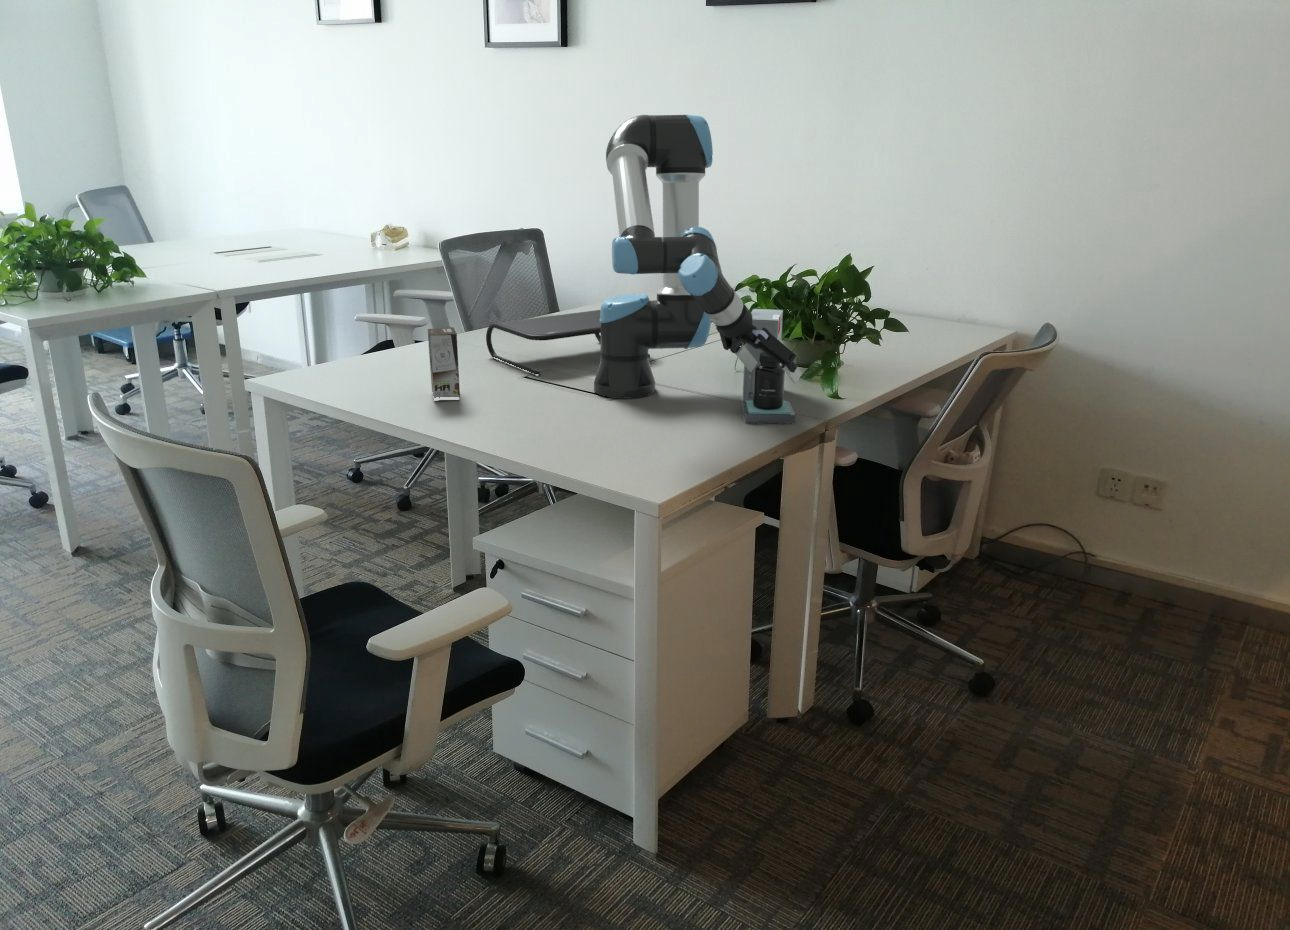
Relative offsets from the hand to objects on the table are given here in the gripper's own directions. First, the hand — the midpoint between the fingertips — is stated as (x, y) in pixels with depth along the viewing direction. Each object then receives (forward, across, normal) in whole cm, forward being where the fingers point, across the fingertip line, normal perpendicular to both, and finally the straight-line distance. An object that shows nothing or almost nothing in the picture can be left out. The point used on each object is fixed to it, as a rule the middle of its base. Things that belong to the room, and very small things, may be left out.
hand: (775, 372), depth 230 cm
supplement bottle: (+4, 0, -7) cm, 8 cm away
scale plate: (+5, 0, -7) cm, 9 cm away
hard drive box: (+15, -14, 0) cm, 20 cm away
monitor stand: (+6, -77, -9) cm, 78 cm away
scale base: (+6, 0, -8) cm, 10 cm away
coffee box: (-28, -61, -42) cm, 79 cm away
